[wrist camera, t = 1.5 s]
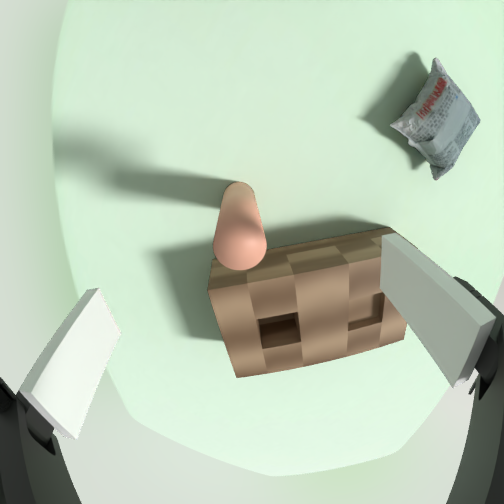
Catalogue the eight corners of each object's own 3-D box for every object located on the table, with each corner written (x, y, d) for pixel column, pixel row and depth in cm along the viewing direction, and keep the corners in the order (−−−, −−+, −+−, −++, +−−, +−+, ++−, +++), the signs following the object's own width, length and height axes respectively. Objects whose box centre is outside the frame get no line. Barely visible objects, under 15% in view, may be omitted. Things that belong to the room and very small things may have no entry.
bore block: (212, 259, 29) (207, 290, 24) (389, 227, 28) (417, 248, 23) (236, 342, 34) (236, 377, 29) (384, 310, 33) (403, 339, 28)
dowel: (220, 185, 26) (207, 226, 15) (251, 179, 26) (261, 216, 15) (226, 214, 27) (219, 274, 16) (256, 208, 27) (270, 265, 16)
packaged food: (378, 125, 24) (403, 126, 19) (426, 58, 20) (452, 53, 16) (424, 177, 26) (451, 188, 22) (466, 112, 23) (493, 114, 18)
